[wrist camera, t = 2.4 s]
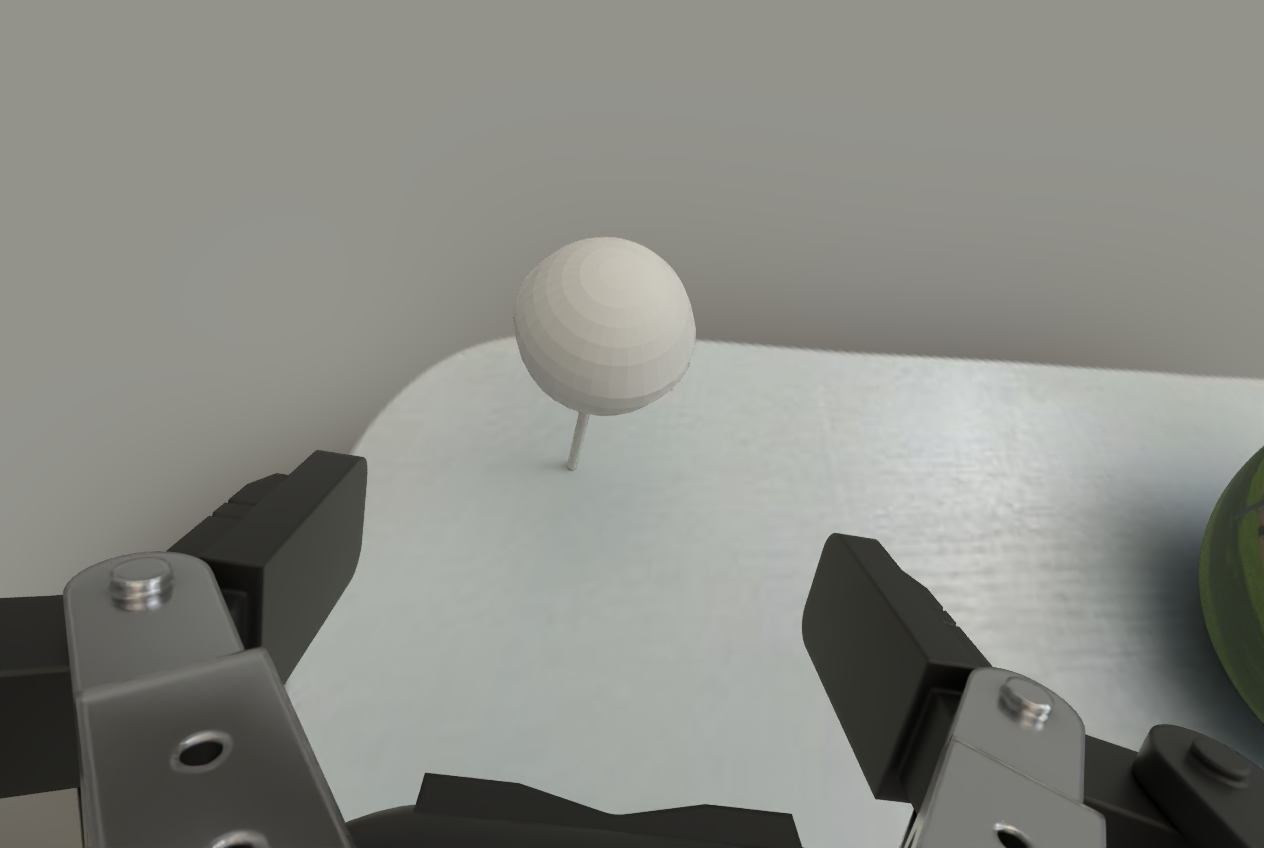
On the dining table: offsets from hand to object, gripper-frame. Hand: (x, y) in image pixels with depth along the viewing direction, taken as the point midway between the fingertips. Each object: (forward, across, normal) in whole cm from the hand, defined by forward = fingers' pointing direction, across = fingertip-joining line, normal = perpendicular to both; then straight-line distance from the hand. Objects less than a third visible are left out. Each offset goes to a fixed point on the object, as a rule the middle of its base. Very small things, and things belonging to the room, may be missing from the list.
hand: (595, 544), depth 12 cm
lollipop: (+21, 0, +7) cm, 22 cm away
